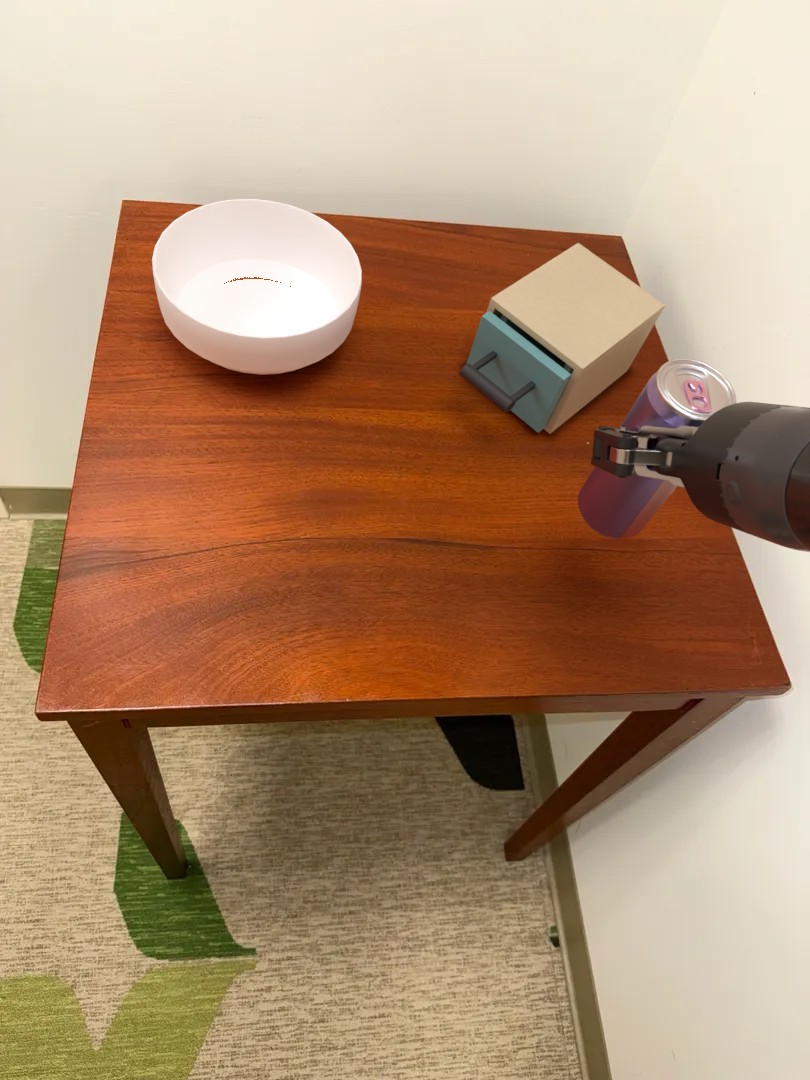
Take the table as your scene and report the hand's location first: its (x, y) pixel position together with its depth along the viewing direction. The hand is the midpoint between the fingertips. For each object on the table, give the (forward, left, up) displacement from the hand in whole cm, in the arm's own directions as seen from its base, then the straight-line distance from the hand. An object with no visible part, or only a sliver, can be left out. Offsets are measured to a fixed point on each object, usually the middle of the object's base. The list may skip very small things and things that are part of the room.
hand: (641, 441), depth 58 cm
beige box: (+16, -17, -16) cm, 28 cm away
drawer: (+16, -12, -15) cm, 25 cm away
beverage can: (-1, +1, -7) cm, 8 cm away
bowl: (+39, +5, -16) cm, 42 cm away
